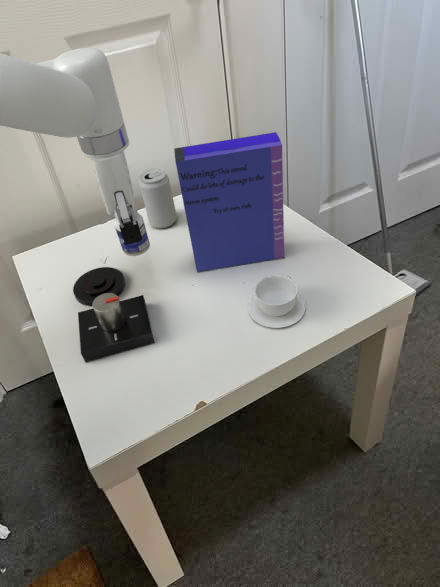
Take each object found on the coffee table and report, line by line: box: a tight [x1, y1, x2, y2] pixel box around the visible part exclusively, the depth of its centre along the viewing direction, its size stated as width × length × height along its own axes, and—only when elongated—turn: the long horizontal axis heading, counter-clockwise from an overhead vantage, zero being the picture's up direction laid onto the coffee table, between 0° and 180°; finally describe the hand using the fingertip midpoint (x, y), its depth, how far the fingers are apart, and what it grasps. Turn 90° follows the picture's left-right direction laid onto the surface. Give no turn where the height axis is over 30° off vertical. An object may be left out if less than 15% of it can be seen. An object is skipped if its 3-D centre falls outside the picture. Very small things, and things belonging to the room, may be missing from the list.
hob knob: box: [91, 293, 126, 332], centre depth 77 cm, size 4×4×5 cm
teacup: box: [247, 274, 307, 329], centre depth 79 cm, size 10×10×5 cm
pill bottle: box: [114, 203, 151, 257], centre depth 83 cm, size 5×5×9 cm
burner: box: [72, 266, 126, 307], centre depth 89 cm, size 10×10×2 cm
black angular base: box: [77, 294, 156, 363], centre depth 80 cm, size 12×10×3 cm
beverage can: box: [138, 168, 178, 229], centre depth 100 cm, size 6×6×12 cm
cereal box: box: [173, 131, 285, 273], centre depth 84 cm, size 17×5×24 cm, turn 97°
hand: (131, 231), depth 84 cm, fingers closed on pill bottle, 5 cm apart
